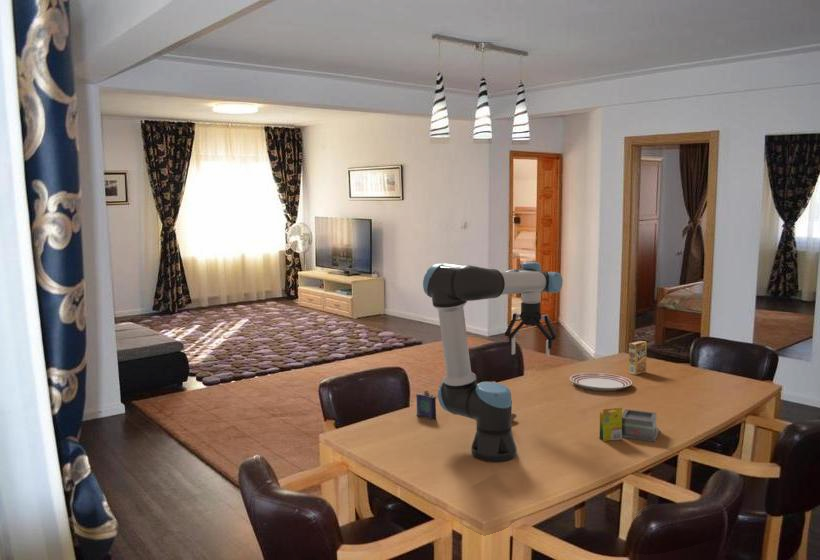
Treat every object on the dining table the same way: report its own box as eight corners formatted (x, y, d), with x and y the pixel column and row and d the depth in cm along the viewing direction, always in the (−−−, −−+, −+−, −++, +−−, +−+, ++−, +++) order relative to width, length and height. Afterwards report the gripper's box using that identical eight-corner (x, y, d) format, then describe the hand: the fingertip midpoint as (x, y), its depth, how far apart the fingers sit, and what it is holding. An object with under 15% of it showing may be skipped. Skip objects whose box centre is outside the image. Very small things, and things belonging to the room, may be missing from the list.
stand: (655, 442, 226) (655, 423, 225) (616, 436, 232) (617, 418, 231) (659, 430, 237) (659, 412, 236) (622, 425, 243) (622, 407, 242)
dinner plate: (582, 375, 315) (582, 368, 314) (639, 383, 299) (640, 376, 298) (560, 388, 293) (560, 381, 292) (620, 398, 277) (620, 391, 276)
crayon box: (618, 436, 231) (619, 405, 230) (622, 439, 228) (623, 407, 227) (598, 438, 230) (599, 406, 229) (602, 441, 227) (603, 409, 226)
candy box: (635, 375, 313) (636, 344, 311) (627, 373, 316) (628, 342, 314) (646, 372, 318) (647, 341, 316) (638, 370, 321) (639, 340, 319)
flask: (415, 415, 258) (415, 389, 257) (419, 413, 260) (419, 387, 259) (433, 420, 252) (433, 393, 251) (438, 418, 255) (438, 391, 253)
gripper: (565, 302, 249) (564, 356, 252) (502, 298, 260) (502, 350, 262) (561, 304, 243) (560, 360, 245) (497, 301, 253) (496, 354, 255)
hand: (530, 355), depth 253 cm, fingers open, 13 cm apart
